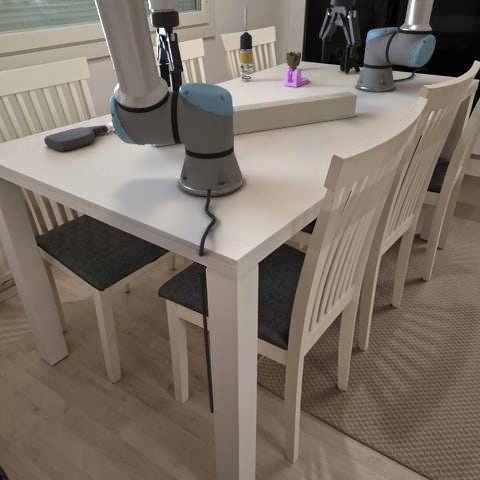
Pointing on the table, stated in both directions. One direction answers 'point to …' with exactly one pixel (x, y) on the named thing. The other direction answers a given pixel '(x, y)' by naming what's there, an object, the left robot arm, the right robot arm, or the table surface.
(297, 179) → the table surface
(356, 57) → the squiggle
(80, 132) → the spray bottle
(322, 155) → the table surface
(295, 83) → the bracket
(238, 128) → the bar
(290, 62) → the cup
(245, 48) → the filter
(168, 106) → the left robot arm
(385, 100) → the table surface
